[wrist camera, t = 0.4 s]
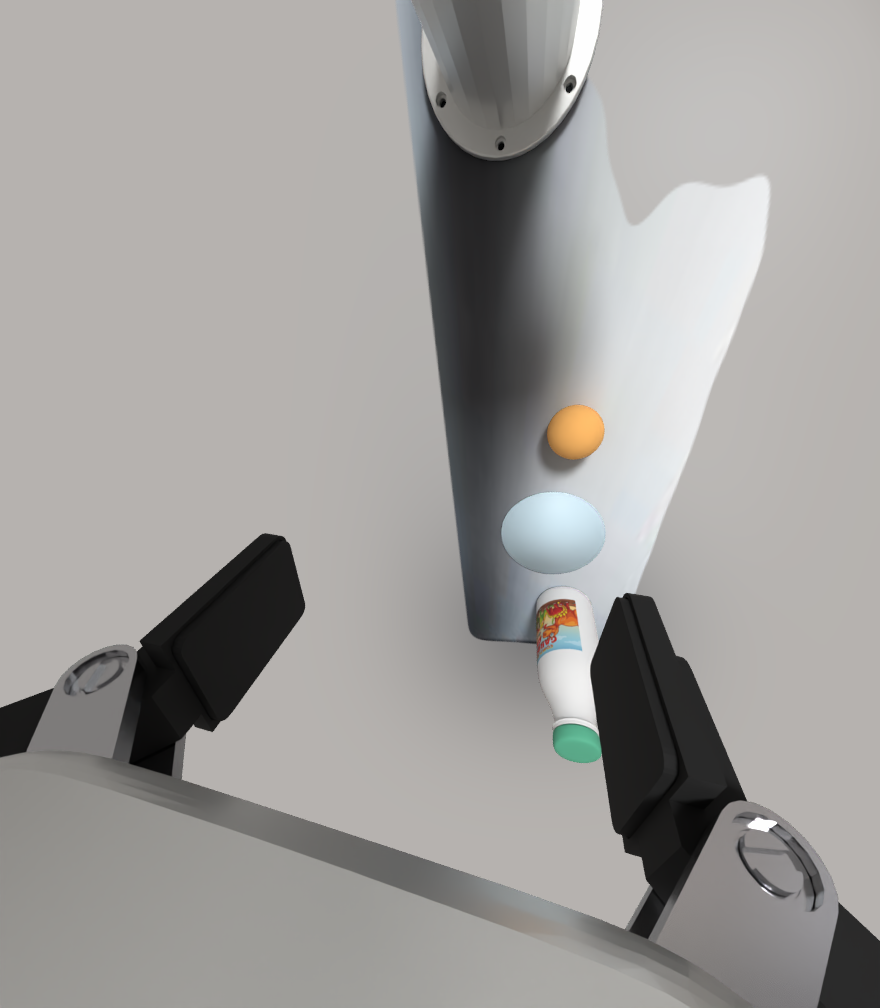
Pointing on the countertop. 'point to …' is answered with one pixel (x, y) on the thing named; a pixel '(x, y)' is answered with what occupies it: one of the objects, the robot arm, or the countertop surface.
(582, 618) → the milk bottle
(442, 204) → the countertop surface
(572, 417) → the ball
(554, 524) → the disc
